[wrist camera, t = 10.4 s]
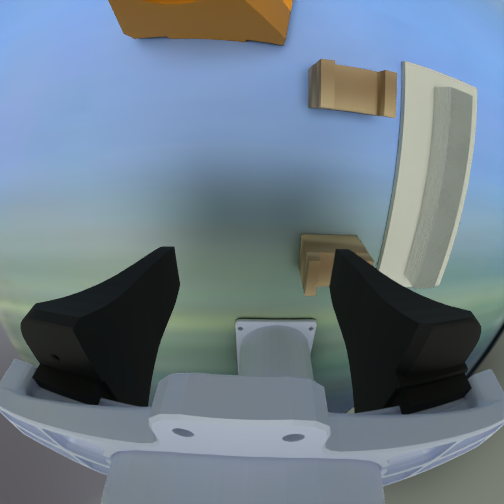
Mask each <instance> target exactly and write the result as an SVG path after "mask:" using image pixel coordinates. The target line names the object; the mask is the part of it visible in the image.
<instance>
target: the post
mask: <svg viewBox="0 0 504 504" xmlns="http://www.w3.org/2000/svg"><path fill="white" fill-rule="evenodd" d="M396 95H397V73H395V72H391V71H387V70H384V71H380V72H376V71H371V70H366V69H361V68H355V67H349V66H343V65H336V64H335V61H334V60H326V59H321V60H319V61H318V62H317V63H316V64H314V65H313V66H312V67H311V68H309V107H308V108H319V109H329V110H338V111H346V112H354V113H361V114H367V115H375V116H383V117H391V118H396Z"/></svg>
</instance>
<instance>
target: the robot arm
mask: <svg viewBox="0 0 504 504" xmlns="http://www.w3.org/2000/svg"><path fill="white" fill-rule="evenodd" d="M179 287H180V281H179V275H178V269H177V262H176V256H175V249H174V247H160V248H158V249H156V250H155V251H153V252H151V253H150V254H148V255H147V256H145V257H144V258H142V259H141V260H139V261H138V262H136V263H135V264H133V265H132V266H130V267H128V268H127V269H125V270H124V271H122V272H120V273H119V274H117V275H115V276H114V277H112V278H110V279H108V280H106V281H104V282H102V283H100V284H98V285H96V286H93V287H91V288H88V289H86V290H84V291H81V292H78V293H76V294H73V295H70V296H66V297H63V298H59V299H55V300H51V301H46V302H41V303H36V304H35V305H34V306H33V307H32V309H31V310H30V311H29V312H28V314H27V315H26V316H25V317H24V319H23V320H22V322H21V332H22V335H23V337H24V339H25V341H26V343H27V345H28V346H29V348H30V349H31V351H32V352H33V354H34V355H35V357H36V358H37V360H38V361H39V363H40V365H39V367H38V368H37V369H36V368H35V367H34V366H32V365H30V364H28V363H26V362H23V361H21V360H18V359H14V360H13V362H12V364H11V365H10V367H9V369H8V370H7V372H6V373H5V375H4V377H3V378H2V380H1V382H0V412H1V413H2V414H3V415H4V416H5V417H6V418H7V419H8V420H9V421H10V422H11V423H12V424H13V425H14V426H15V427H17V428H18V429H19V430H20V431H21V432H22V433H24V434H25V435H27V436H28V437H30V438H32V439H33V440H35V441H37V442H39V443H41V444H42V445H44V446H46V447H48V448H50V449H52V450H53V451H55V452H57V453H59V454H61V455H63V456H65V457H67V458H69V459H71V460H73V461H75V462H77V463H79V464H82V465H84V466H86V467H88V468H90V469H93V470H95V471H98V472H100V473H102V474H105V475H107V480H106V483H105V487H104V491H103V495H102V499H101V503H100V504H385V498H384V491H383V486H385V485H389V484H392V483H395V482H398V481H400V480H404V479H406V478H409V477H412V476H414V475H417V474H419V473H422V472H424V471H427V470H429V469H432V468H433V467H436V466H438V465H441V464H443V463H445V462H447V461H449V460H451V459H453V458H456V457H458V456H460V455H462V454H464V453H466V452H467V451H470V450H472V449H474V448H476V447H478V446H479V445H480V444H481V443H483V442H484V441H485V440H486V439H488V438H489V437H490V436H491V435H492V434H494V433H495V432H496V431H497V430H498V429H499V428H500V427H502V426H503V425H504V393H503V390H502V388H501V386H500V384H499V383H498V381H497V379H496V377H495V375H494V373H493V372H492V370H491V369H489V370H486V371H483V372H480V373H478V374H475V375H473V376H471V377H470V378H469V379H467V377H466V375H465V373H466V372H467V371H468V368H467V366H466V364H465V361H466V360H467V358H468V357H469V355H470V354H471V352H472V351H473V349H474V348H475V346H476V344H477V342H478V340H479V338H480V334H481V326H480V324H479V322H478V321H477V319H476V318H475V316H474V315H473V314H472V312H471V311H467V310H463V309H459V308H455V307H451V306H448V305H445V304H442V303H439V302H436V301H434V300H431V299H429V298H426V297H424V296H422V295H420V294H417V293H415V292H413V291H411V290H409V289H408V288H406V287H404V286H402V285H400V284H399V283H397V282H395V281H394V280H392V279H391V278H389V277H388V276H386V275H384V274H383V273H382V272H380V271H379V270H377V269H376V268H375V267H373V266H372V265H370V264H369V263H368V262H366V261H365V260H364V259H362V258H361V257H360V256H358V255H357V254H356V253H354V252H353V251H351V250H349V249H336V250H335V257H334V263H333V269H332V274H331V280H330V285H329V288H330V294H331V299H332V304H333V308H334V311H335V314H336V317H337V320H338V323H339V326H340V329H341V332H342V335H343V338H344V341H345V345H346V349H347V353H348V359H349V365H350V372H351V379H352V387H353V398H354V414H344V413H330V412H328V409H327V403H326V397H325V391H324V387H323V386H321V385H320V384H318V383H316V382H315V381H314V377H313V370H312V364H311V357H310V354H311V349H312V345H313V340H314V336H315V331H316V326H317V323H316V320H314V319H298V320H265V319H238V320H236V323H235V328H236V346H237V363H238V375H221V374H206V373H194V372H189V373H173V374H170V375H168V376H167V377H165V378H163V379H162V380H160V381H159V383H158V387H157V390H156V394H155V397H154V400H153V404H152V407H148V401H149V394H150V387H151V380H152V375H153V370H154V365H155V361H156V356H157V352H158V348H159V345H160V341H161V338H162V336H163V333H164V331H165V328H166V326H167V323H168V321H169V318H170V316H171V313H172V311H173V308H174V305H175V303H176V299H177V295H178V291H179ZM239 327H242V328H239ZM310 327H312V328H310Z"/></svg>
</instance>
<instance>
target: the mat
mask: <svg viewBox="0 0 504 504" xmlns="http://www.w3.org/2000/svg"><path fill="white" fill-rule="evenodd" d="M434 87H453V88H455V89H458V90H460V91H462V92H465V93H467V94H470V95H472V96H473V108H472V126H471V137H470V146H469V154H468V162H467V168H466V174H465V180H464V185H463V191H462V195H461V200H460V205H459V209H458V213H457V217H456V221H455V225H454V229H453V232H452V236H451V239H450V243H449V246H448V249H447V252H446V256H445V259H444V262H443V265H442V267H441V270H440V273H439V276H438V279H437V281H436V284H435V285H439V284H440V281H441V279H442V276H443V273H444V270H445V268H446V265H447V262H448V259H449V256H450V253H451V250H452V246H453V243H454V240H455V236H456V233H457V229H458V226H459V222H460V218H461V214H462V210H463V206H464V201H465V197H466V192H467V187H468V182H469V176H470V170H471V164H472V157H473V149H474V140H475V129H476V114H477V88H475V87H473V86H471V85H468V84H466V83H464V82H462V81H459V80H457V79H455V78H452V77H450V76H447V75H445V74H442V73H440V72H437V71H434V70H431V69H429V68H426V67H423V66H420V65H417V64H413V63H410V62H407V61H403V62H402V97H401V118H400V132H399V144H398V153H397V162H396V170H395V177H394V184H393V191H392V197H391V203H390V209H389V214H388V219H387V225H386V229H385V234H384V239H383V243H382V248H381V252H380V256H379V261H378V265H377V270H379V271H380V272H382V273H383V274H384V275H386V276H388V277H389V278H391V279H392V280H394V281H395V282H397V283H399V284H400V285H402V286H404V287H412V285H411V284H410V282H409V281H408V279H407V278H406V276H405V275H404V271H405V267H406V264H407V261H408V257H409V253H410V250H411V246H412V242H413V238H414V234H415V230H416V226H417V222H418V217H419V213H420V208H421V203H422V198H423V193H424V187H425V181H426V175H427V169H428V161H429V154H430V145H431V135H432V123H433V106H434Z"/></svg>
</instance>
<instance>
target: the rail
mask: <svg viewBox="0 0 504 504" xmlns="http://www.w3.org/2000/svg"><path fill="white" fill-rule="evenodd" d="M472 108H473V96H472V95H470V94H467V93H465V92H462V91H460V90H458V89H455V88H453V87H434V106H433V123H432V135H431V145H430V154H429V161H428V169H427V175H426V181H425V187H424V193H423V198H422V203H421V208H420V213H419V217H418V222H417V226H416V230H415V234H414V238H413V242H412V246H411V250H410V253H409V257H408V261H407V264H406V267H405V271H404V275H405V276H406V278H407V279H408V281H409V282H410V284H411V285H412V287H413V288H414V289H417V288H434V287H435V284H436V281H437V279H438V276H439V273H440V270H441V267H442V265H443V262H444V259H445V256H446V252H447V249H448V246H449V243H450V239H451V236H452V232H453V229H454V225H455V221H456V217H457V213H458V209H459V205H460V200H461V195H462V191H463V185H464V180H465V174H466V168H467V162H468V154H469V146H470V137H471V126H472Z"/></svg>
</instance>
